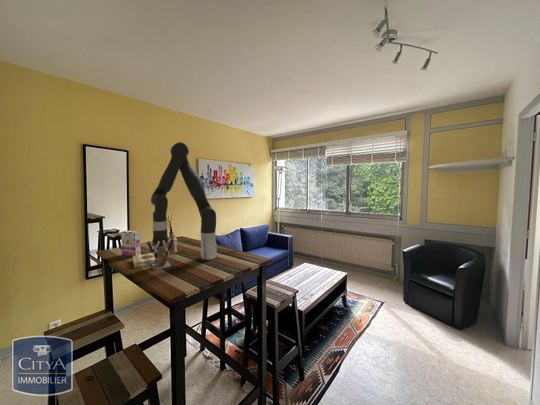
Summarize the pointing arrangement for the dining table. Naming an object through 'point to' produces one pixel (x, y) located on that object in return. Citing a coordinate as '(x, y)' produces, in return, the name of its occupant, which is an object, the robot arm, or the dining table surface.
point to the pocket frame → (144, 260)
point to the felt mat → (161, 266)
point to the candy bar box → (130, 243)
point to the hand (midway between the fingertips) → (161, 257)
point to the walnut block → (161, 255)
